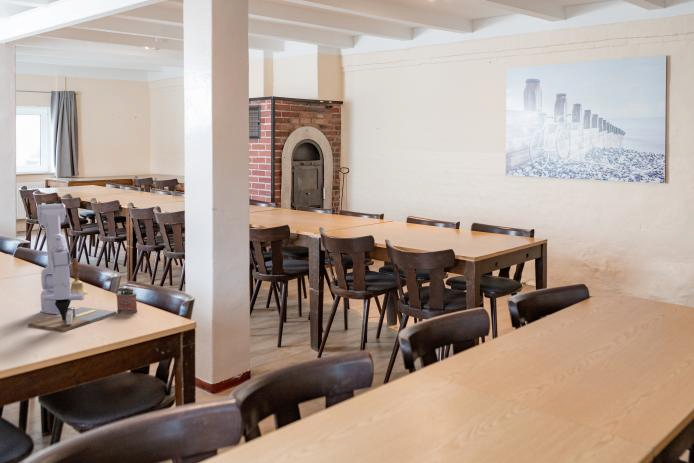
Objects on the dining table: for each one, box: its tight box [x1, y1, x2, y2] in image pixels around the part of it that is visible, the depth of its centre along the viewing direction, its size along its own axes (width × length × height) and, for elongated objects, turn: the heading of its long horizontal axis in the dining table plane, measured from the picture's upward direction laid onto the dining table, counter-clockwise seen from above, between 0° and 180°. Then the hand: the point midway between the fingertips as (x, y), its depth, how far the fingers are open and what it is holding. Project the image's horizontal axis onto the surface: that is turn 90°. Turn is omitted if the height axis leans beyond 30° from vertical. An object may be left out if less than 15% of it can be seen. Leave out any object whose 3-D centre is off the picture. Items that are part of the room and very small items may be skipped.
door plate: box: [54, 306, 117, 324], centre depth 268 cm, size 18×14×1 cm
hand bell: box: [70, 258, 88, 296], centre depth 305 cm, size 8×8×16 cm
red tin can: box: [115, 286, 138, 314], centre depth 273 cm, size 8×3×10 cm, turn 84°
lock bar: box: [66, 306, 76, 325], centre depth 257 cm, size 13×3×3 cm, turn 18°
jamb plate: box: [27, 315, 90, 333], centre depth 256 cm, size 18×12×1 cm, turn 65°
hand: (64, 319), depth 254 cm, fingers closed
